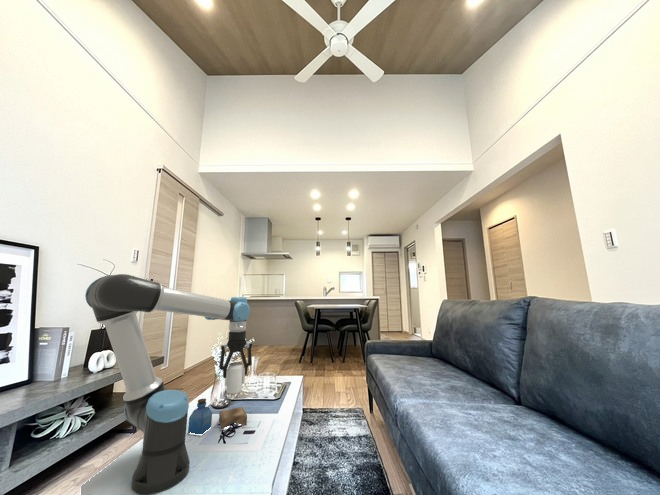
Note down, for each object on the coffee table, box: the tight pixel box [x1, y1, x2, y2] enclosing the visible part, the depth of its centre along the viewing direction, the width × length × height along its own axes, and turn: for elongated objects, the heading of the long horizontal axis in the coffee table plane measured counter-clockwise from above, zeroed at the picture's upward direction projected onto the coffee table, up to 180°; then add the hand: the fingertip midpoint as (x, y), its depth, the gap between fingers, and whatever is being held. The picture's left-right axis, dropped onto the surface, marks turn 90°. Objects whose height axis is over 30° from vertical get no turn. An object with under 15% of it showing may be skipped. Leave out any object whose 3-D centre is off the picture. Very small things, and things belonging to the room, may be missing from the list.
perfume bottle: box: [187, 398, 213, 434], centre depth 111 cm, size 6×6×12 cm
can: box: [226, 361, 244, 395], centre depth 120 cm, size 6×6×12 cm
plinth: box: [218, 406, 248, 429], centre depth 117 cm, size 10×10×4 cm
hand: (234, 383), depth 120 cm, fingers closed on can, 6 cm apart
